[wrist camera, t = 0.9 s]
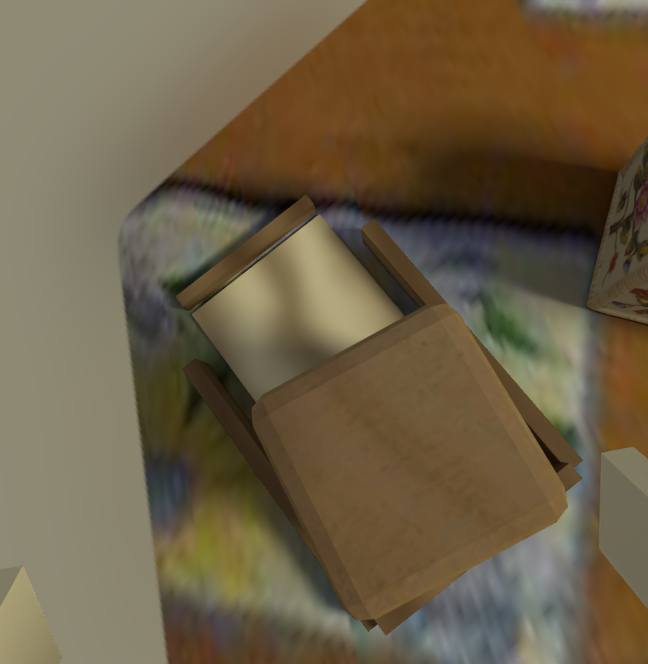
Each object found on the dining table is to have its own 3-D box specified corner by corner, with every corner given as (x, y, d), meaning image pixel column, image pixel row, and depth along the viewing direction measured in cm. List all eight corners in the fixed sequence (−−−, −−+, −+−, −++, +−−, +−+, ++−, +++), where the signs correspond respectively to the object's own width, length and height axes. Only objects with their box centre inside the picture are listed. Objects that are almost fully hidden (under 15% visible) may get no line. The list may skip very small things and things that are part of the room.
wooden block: (371, 541, 41) (351, 640, 21) (307, 418, 43) (236, 404, 23) (493, 475, 41) (587, 513, 21) (423, 354, 43) (449, 287, 23)
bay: (332, 183, 46) (327, 160, 42) (575, 465, 40) (594, 468, 36) (157, 320, 46) (135, 309, 42) (375, 624, 40) (373, 645, 36)
